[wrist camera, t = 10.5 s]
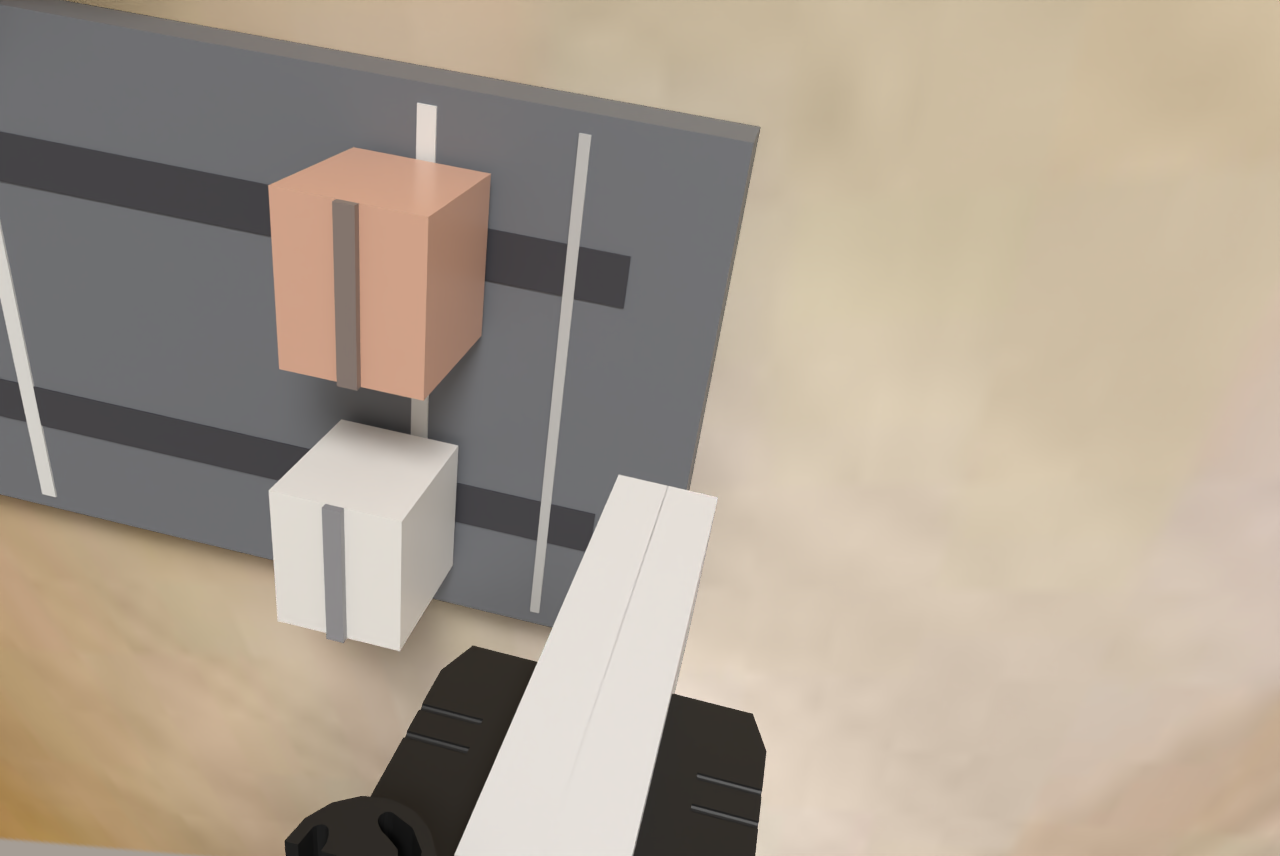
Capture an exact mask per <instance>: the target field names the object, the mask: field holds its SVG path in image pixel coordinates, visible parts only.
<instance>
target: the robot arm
mask: <svg viewBox="0 0 1280 856" xmlns="http://www.w3.org/2000/svg"><path fill="white" fill-rule="evenodd" d="M717 500H718V497H715V496H711V495H706V494H702V493H697V492H693V491H689V490H684V489H680V488H675V487H671V486H667V485H662V484H658V483H654V482H649V481H645V480H640V479H636V478H632V477H627V476H623V475H618V477H617V480H616V482H615V484H614V487H613V489H612V491H611V494H610V496H609V498H608V501H607V503H606V505H605V507H604V510H603V512H602V514H601V517H600V519H599V521H598V524H597V526H596V528H595V531H594V533H593V535H592V538H591V540H590V542H589V544H588V547H587V549H586V551H585V554H584V556H583V558H582V561H581V563H580V565H579V568H578V570H577V572H576V575H575V577H574V579H573V581H572V584H571V586H570V588H569V591H568V593H567V595H566V598H565V600H564V602H563V605H562V607H561V609H560V612H559V614H558V616H557V619H556V621H555V623H554V625H553V628H552V630H551V632H550V635H549V637H548V639H547V642H546V644H545V646H544V649H543V651H542V653H541V656H540V658H539V660H538V662H535V661H531V660H527V659H523V658H519V657H516V656H512V655H508V654H504V653H500V652H496V651H492V650H488V649H484V648H480V647H476V646H472V647H471V648H469V649H468V650H467V651H465V652H464V653H463V654H461V655H460V656H459V657H458V658H456V659H455V660H454V661H452V662H451V663H450V664H448V665H447V666H446V667H445V668H443V669H442V670H441V671H440V673H439V675H438V677H437V678H436V680H435V682H434V684H433V686H432V687H431V689H430V691H429V693H428V694H427V696H426V698H425V700H424V702H423V704H422V708H421V710H419V711H418V712H417V714H416V716H415V718H414V720H413V721H412V723H411V725H410V727H409V729H408V730H407V735H406V737H405V738H403V739H402V741H401V743H400V745H399V746H398V748H397V750H396V752H395V754H394V755H393V757H392V759H391V761H390V763H389V764H388V766H387V768H386V770H385V772H384V773H383V775H382V777H381V779H380V780H379V782H378V784H377V786H376V788H375V789H374V791H373V793H372V795H371V797H366V796H360V797H355V798H351V799H346V800H342V801H337V802H333V803H331V804H329V805H327V806H325V807H324V808H322V809H320V810H318V811H317V812H315V813H313V814H311V815H310V816H308V817H306V818H305V819H304V820H303V821H302V822H301V823H300V824H299V825H298V827H297V828H296V829H295V830H294V831H293V832H292V833H291V834H290V836H289V837H288V838H287V839H286V840H285V852H286V856H755V852H756V843H757V833H758V829H757V828H758V822H759V815H760V805H761V792H762V787H763V777H764V768H765V758H766V749H765V746H764V744H763V741H762V738H761V735H760V733H759V730H758V727H757V724H756V722H755V719H754V716H753V714H751V713H747V712H743V711H739V710H735V709H731V708H727V707H723V706H720V705H716V704H712V703H708V702H704V701H700V700H696V699H692V698H688V697H684V696H680V695H676V694H675V690H676V685H677V681H678V677H679V673H680V668H681V664H682V660H683V655H684V651H685V647H686V643H687V638H688V634H689V629H690V625H691V620H692V615H693V611H694V606H695V602H696V597H697V592H698V588H699V583H700V578H701V574H702V569H703V564H704V560H705V555H706V551H707V546H708V541H709V537H710V532H711V527H712V523H713V518H714V514H715V509H716V504H717Z"/></svg>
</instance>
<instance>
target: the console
mask: <svg viewBox="0 0 1280 856" xmlns="http://www.w3.org/2000/svg"><path fill="white" fill-rule="evenodd" d="M759 132H760V127H757V126H752V125H746V124H741V123H735V122H730V121H724V120H719V119H713V118H708V117H702V116H697V115H691V114H686V113H680V112H675V111H669V110H664V109H658V108H653V107H647V106H642V105H636V104H631V103H625V102H620V101H614V100H609V99H603V98H598V97H592V96H587V95H581V94H576V93H570V92H565V91H559V90H554V89H548V88H543V87H537V86H532V85H526V84H521V83H515V82H510V81H504V80H499V79H493V78H488V77H482V76H477V75H471V74H466V73H460V72H455V71H449V70H444V69H438V68H433V67H427V66H422V65H416V64H411V63H405V62H400V61H394V60H389V59H383V58H378V57H372V56H367V55H361V54H356V53H350V52H345V51H339V50H334V49H328V48H323V47H317V46H312V45H306V44H301V43H295V42H290V41H284V40H279V39H273V38H267V37H262V36H256V35H251V34H245V33H240V32H234V31H229V30H223V29H218V28H212V27H207V26H201V25H196V24H190V23H185V22H179V21H174V20H168V19H163V18H157V17H152V16H146V15H141V14H135V13H130V12H124V11H119V10H113V9H108V8H102V7H97V6H91V5H86V4H80V3H75V2H69V1H64V0H0V494H1V495H5V496H10V497H14V498H18V499H22V500H26V501H30V502H34V503H39V504H43V505H47V506H51V507H55V508H59V509H63V510H68V511H72V512H76V513H80V514H84V515H88V516H92V517H97V518H101V519H105V520H109V521H113V522H117V523H122V524H126V525H130V526H134V527H138V528H142V529H146V530H151V531H155V532H159V533H163V534H167V535H171V536H175V537H180V538H184V539H188V540H192V541H196V542H200V543H204V544H209V545H213V546H217V547H221V548H225V549H229V550H233V551H238V552H242V553H246V554H250V555H254V556H258V557H262V558H267V559H271V560H273V546H272V532H271V518H270V503H269V490H270V489H271V488H272V487H273V486H274V485H275V484H276V483H277V482H278V481H279V480H280V479H281V478H282V477H283V476H284V475H285V474H286V473H287V472H288V471H289V470H290V469H291V468H292V467H293V466H294V465H295V464H296V463H297V462H298V461H299V460H300V459H301V458H302V457H303V456H304V455H305V454H306V453H307V452H308V451H310V450H311V449H312V448H313V447H314V446H315V445H316V444H317V443H318V442H319V441H320V440H321V439H322V438H323V437H324V436H325V435H326V434H327V433H328V432H329V431H330V430H331V429H332V428H333V427H334V426H335V425H336V424H337V423H338V422H339V421H340V420H341V419H342V420H347V421H351V422H356V423H360V424H365V425H369V426H374V427H378V428H382V429H387V430H391V431H396V432H400V433H405V434H409V435H414V436H418V437H423V438H427V439H432V440H436V441H441V442H445V443H450V444H454V445H458V466H457V486H456V507H455V528H454V548H453V566H452V567H451V569H450V571H449V572H448V574H447V576H446V577H445V579H444V580H443V582H442V584H441V585H440V587H439V589H438V590H437V592H436V593H435V595H434V597H433V598H432V599H436V600H441V601H445V602H449V603H453V604H457V605H461V606H465V607H470V608H474V609H478V610H482V611H486V612H490V613H494V614H499V615H503V616H507V617H511V618H515V619H519V620H523V621H528V622H532V623H536V624H540V625H544V626H548V627H552V628H553V625H554V623H555V621H556V619H557V616H558V614H559V612H560V609H561V607H562V605H563V602H564V600H565V598H566V595H567V593H568V591H569V588H570V586H571V584H572V581H573V579H574V577H575V575H576V572H577V570H578V568H579V565H580V563H581V561H582V558H583V556H584V554H585V551H586V549H587V547H588V544H589V542H590V540H591V538H592V535H593V533H594V531H595V528H596V526H597V524H598V521H599V519H600V517H601V514H602V512H603V510H604V507H605V505H606V503H607V501H608V498H609V496H610V494H611V491H612V489H613V487H614V484H615V482H616V480H617V477H618V475H623V476H627V477H632V478H636V479H640V480H645V481H649V482H654V483H658V484H662V485H667V486H671V487H675V488H680V489H684V490H689V489H690V484H691V479H692V473H693V468H694V463H695V458H696V453H697V448H698V443H699V438H700V433H701V428H702V422H703V417H704V412H705V407H706V402H707V397H708V392H709V387H710V382H711V377H712V371H713V366H714V361H715V356H716V351H717V346H718V341H719V336H720V331H721V326H722V320H723V315H724V310H725V305H726V300H727V295H728V290H729V285H730V280H731V275H732V269H733V264H734V259H735V254H736V249H737V244H738V239H739V234H740V229H741V224H742V218H743V213H744V208H745V203H746V198H747V193H748V188H749V183H750V178H751V173H752V167H753V162H754V157H755V152H756V147H757V142H758V137H759ZM353 147H355V148H360V149H366V150H371V151H376V152H381V153H386V154H392V155H397V156H402V157H407V158H412V159H418V160H423V161H428V162H433V163H438V164H444V165H449V166H454V167H459V168H464V169H470V170H475V171H480V172H485V173H490V174H491V181H490V198H489V215H488V232H487V249H486V266H485V283H484V301H483V318H482V335H481V337H480V338H479V339H478V340H477V341H476V342H475V344H474V345H473V346H472V347H471V348H470V349H469V350H468V351H467V353H466V354H465V355H464V356H463V357H462V358H461V359H460V360H459V362H458V363H457V364H456V365H455V366H454V367H453V368H452V369H451V371H450V372H449V373H448V374H447V375H446V376H445V377H444V378H443V380H442V381H441V382H440V383H439V384H438V385H437V386H436V387H435V389H434V390H433V391H432V392H431V393H430V394H429V395H428V396H427V398H426V399H425V400H424V401H422V400H418V399H413V398H409V397H404V396H400V395H395V394H391V393H386V392H381V391H377V390H372V389H368V388H363V387H360V388H359V389H358V390H357V391H356V390H352V389H347V388H343V387H338V386H337V382H336V381H331V380H327V379H322V378H318V377H313V376H308V375H304V374H299V373H295V372H290V371H286V370H281V369H279V358H278V341H277V324H276V307H275V290H274V274H273V257H272V240H271V223H270V206H269V189H268V185H270V184H272V183H275V182H277V181H279V180H281V179H283V178H286V177H288V176H290V175H292V174H295V173H297V172H299V171H301V170H304V169H306V168H308V167H310V166H313V165H315V164H317V163H319V162H321V161H324V160H326V159H328V158H330V157H333V156H335V155H337V154H339V153H342V152H344V151H346V150H348V149H351V148H353Z"/></svg>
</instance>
